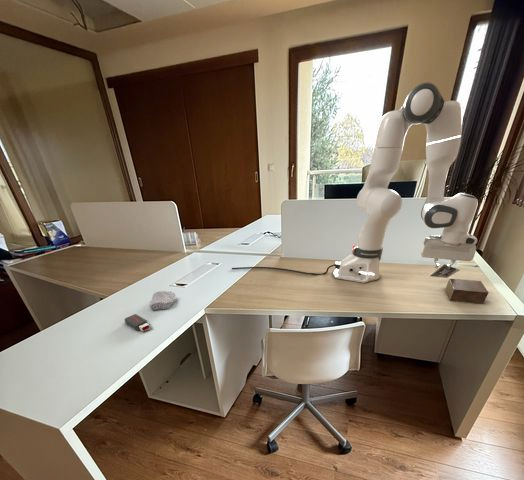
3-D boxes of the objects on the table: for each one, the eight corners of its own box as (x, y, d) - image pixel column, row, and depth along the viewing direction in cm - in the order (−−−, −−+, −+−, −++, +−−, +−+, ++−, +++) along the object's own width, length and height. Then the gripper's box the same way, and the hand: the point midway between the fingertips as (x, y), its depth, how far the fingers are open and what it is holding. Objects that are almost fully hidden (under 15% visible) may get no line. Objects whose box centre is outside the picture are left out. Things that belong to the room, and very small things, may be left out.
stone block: (177, 300, 133) (155, 298, 131) (177, 291, 130) (154, 288, 129) (173, 313, 124) (149, 311, 122) (172, 304, 121) (148, 301, 119)
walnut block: (449, 300, 118) (454, 289, 115) (445, 289, 127) (449, 278, 124) (483, 304, 114) (488, 292, 111) (476, 291, 123) (481, 280, 120)
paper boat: (461, 258, 126) (457, 264, 120) (463, 272, 128) (460, 278, 122) (431, 266, 135) (426, 271, 129) (433, 278, 137) (429, 284, 131)
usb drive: (137, 318, 117) (135, 312, 116) (152, 327, 111) (150, 321, 109) (125, 323, 114) (123, 317, 113) (140, 333, 108) (138, 327, 106)
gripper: (426, 236, 121) (417, 268, 129) (482, 240, 115) (468, 273, 123) (425, 233, 126) (416, 263, 134) (478, 236, 120) (465, 268, 128)
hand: (441, 268), depth 129 cm, fingers closed on paper boat, 3 cm apart
